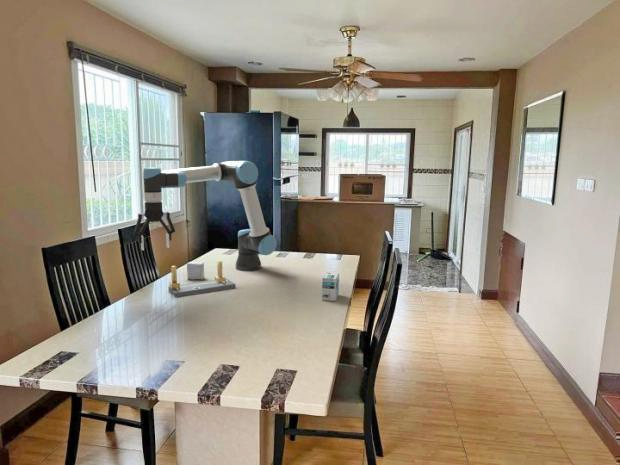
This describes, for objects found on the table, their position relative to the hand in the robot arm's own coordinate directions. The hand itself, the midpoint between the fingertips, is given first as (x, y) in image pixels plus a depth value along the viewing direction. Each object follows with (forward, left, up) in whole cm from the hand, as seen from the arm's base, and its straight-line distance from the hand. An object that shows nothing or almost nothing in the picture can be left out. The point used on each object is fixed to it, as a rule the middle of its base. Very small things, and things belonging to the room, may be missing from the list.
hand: (155, 248), depth 205 cm
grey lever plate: (-21, +2, -22) cm, 31 cm away
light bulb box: (-69, +44, -22) cm, 85 cm away
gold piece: (-8, +2, -20) cm, 21 cm away
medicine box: (-24, -18, -22) cm, 37 cm away
